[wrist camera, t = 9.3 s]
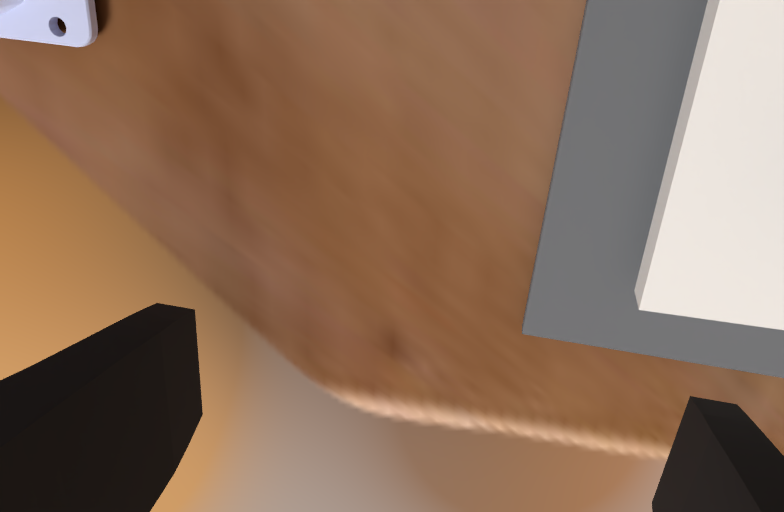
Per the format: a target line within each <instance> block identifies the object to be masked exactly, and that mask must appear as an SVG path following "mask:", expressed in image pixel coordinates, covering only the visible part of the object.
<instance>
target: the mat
mask: <svg viewBox="0 0 784 512" xmlns="http://www.w3.org/2000/svg"><path fill="white" fill-rule="evenodd" d="M707 2H708V0H587V1H586V6H585V11H584V16H583V21H582V26H581V31H580V37H579V42H578V47H577V52H576V57H575V62H574V67H573V72H572V77H571V82H570V87H569V92H568V97H567V102H566V107H565V112H564V117H563V122H562V127H561V133H560V138H559V143H558V148H557V153H556V158H555V163H554V168H553V173H552V178H551V183H550V188H549V193H548V198H547V203H546V208H545V213H544V218H543V223H542V228H541V234H540V239H539V244H538V249H537V254H536V259H535V264H534V269H533V274H532V279H531V284H530V289H529V294H528V299H527V304H526V309H525V314H524V319H523V324H522V334H526V335H532V336H538V337H544V338H550V339H556V340H561V341H567V342H573V343H579V344H585V345H591V346H597V347H603V348H609V349H615V350H621V351H627V352H633V353H639V354H645V355H650V356H656V357H662V358H668V359H674V360H680V361H686V362H692V363H698V364H704V365H710V366H716V367H722V368H728V369H733V370H739V371H745V372H751V373H757V374H763V375H769V376H775V377H781V378H784V330H779V329H772V328H765V327H757V326H750V325H743V324H736V323H729V322H722V321H715V320H707V319H700V318H693V317H686V316H679V315H672V314H665V313H658V312H650V311H643V310H639V308H638V304H637V300H636V296H635V291H634V290H635V286H636V282H637V278H638V274H639V270H640V266H641V262H642V258H643V254H644V250H645V246H646V242H647V238H648V235H649V231H650V227H651V223H652V219H653V215H654V211H655V207H656V203H657V199H658V195H659V191H660V187H661V183H662V179H663V175H664V171H665V167H666V164H667V160H668V156H669V152H670V148H671V144H672V140H673V136H674V132H675V128H676V124H677V120H678V116H679V112H680V108H681V104H682V100H683V97H684V93H685V89H686V85H687V81H688V77H689V73H690V69H691V65H692V61H693V57H694V53H695V49H696V45H697V41H698V37H699V33H700V29H701V26H702V22H703V18H704V14H705V10H706V6H707Z"/></svg>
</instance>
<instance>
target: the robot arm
mask: <svg viewBox="0 0 784 512" xmlns="http://www.w3.org/2000/svg"><path fill="white" fill-rule="evenodd" d="M58 18H60V19H61V20H62V21H63V22H64V23H65V26H66V33H63V32H62V31H61V30H60V29H59V26H58V24H57V22H58ZM97 36H98V25H97V17H96V9H95V1H94V0H0V37H1V38H9V39H17V40H25V41H33V42H41V43H49V44H57V45H65V46H73V47H83V46H87V45H90V44H91V43H93V42H94V41H95V40H96V38H97ZM200 388H201V387H200V374H199V361H198V348H197V333H196V321H195V310H193V309H188V308H183V307H176V306H171V305H165V304H159V303H156V304H154V305H152V306H149V307H147V308H145V309H143V310H140V311H138V312H136V313H134V314H132V315H130V316H128V317H126V318H124V319H122V320H120V321H118V322H116V323H114V324H112V325H110V326H108V327H106V328H104V329H103V330H101V331H99V332H97V333H95V334H93V335H91V336H89V337H87V338H85V339H83V340H81V341H79V342H77V343H75V344H73V345H71V346H69V347H68V348H66V349H64V350H62V351H60V352H58V353H56V354H54V355H52V356H50V357H48V358H46V359H44V360H42V361H40V362H38V363H36V364H34V365H32V366H30V367H28V368H26V369H24V370H22V371H20V372H18V373H16V374H13V375H11V376H9V377H7V378H5V379H3V380H0V512H150V511H151V509H152V507H153V506H154V504H155V503H156V501H157V500H158V498H159V497H160V495H161V493H162V492H163V490H164V489H165V487H166V485H167V484H168V482H169V481H170V479H171V478H172V476H173V474H174V473H175V471H176V469H177V467H178V465H179V463H180V461H181V459H182V457H183V455H184V453H185V451H186V449H187V447H188V445H189V443H190V441H191V438H192V436H193V434H194V432H195V430H196V427H197V425H198V423H199V421H200V419H201V417H202V414H203V413H202V400H201V389H200ZM652 509H653V512H784V456H783V455H782V454H781V453H780V451H779V450H778V449H777V448H776V447H775V446H774V445H773V444H772V442H771V441H770V440H769V439H768V438H767V437H766V436H765V434H764V433H763V432H762V431H761V430H760V429H759V428H758V427H757V425H756V424H755V423H754V422H753V421H752V420H751V419H750V418H749V417H748V416H747V414H746V413H745V412H744V411H743V410H742V409H741V408H740V407H739V406H738V405H737V404H731V403H726V402H720V401H714V400H709V399H703V398H697V397H691V396H690V398H689V401H688V404H687V407H686V409H685V412H684V415H683V418H682V420H681V423H680V426H679V429H678V432H677V434H676V437H675V440H674V443H673V445H672V448H671V451H670V454H669V457H668V459H667V462H666V465H665V468H664V471H663V474H662V476H661V479H660V482H659V484H658V487H657V490H656V493H655V496H654V498H653V501H652Z"/></svg>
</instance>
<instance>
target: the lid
mask: <svg viewBox="0 0 784 512" xmlns="http://www.w3.org/2000/svg"><path fill="white" fill-rule="evenodd" d="M634 291H635V296H636V300H637V304H638V308H639V310H643V311H650V312H658V313H665V314H672V315H679V316H686V317H693V318H700V319H707V320H715V321H722V322H729V323H736V324H743V325H750V326H757V327H765V328H772V329H779V330H784V0H708V2H707V6H706V10H705V14H704V18H703V22H702V26H701V29H700V33H699V37H698V41H697V45H696V49H695V53H694V57H693V61H692V65H691V69H690V73H689V77H688V81H687V85H686V89H685V93H684V97H683V100H682V104H681V108H680V112H679V116H678V120H677V124H676V128H675V132H674V136H673V140H672V144H671V148H670V152H669V156H668V160H667V164H666V167H665V171H664V175H663V179H662V183H661V187H660V191H659V195H658V199H657V203H656V207H655V211H654V215H653V219H652V223H651V227H650V231H649V235H648V238H647V242H646V246H645V250H644V254H643V258H642V262H641V266H640V270H639V274H638V278H637V282H636V286H635V290H634Z"/></svg>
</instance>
